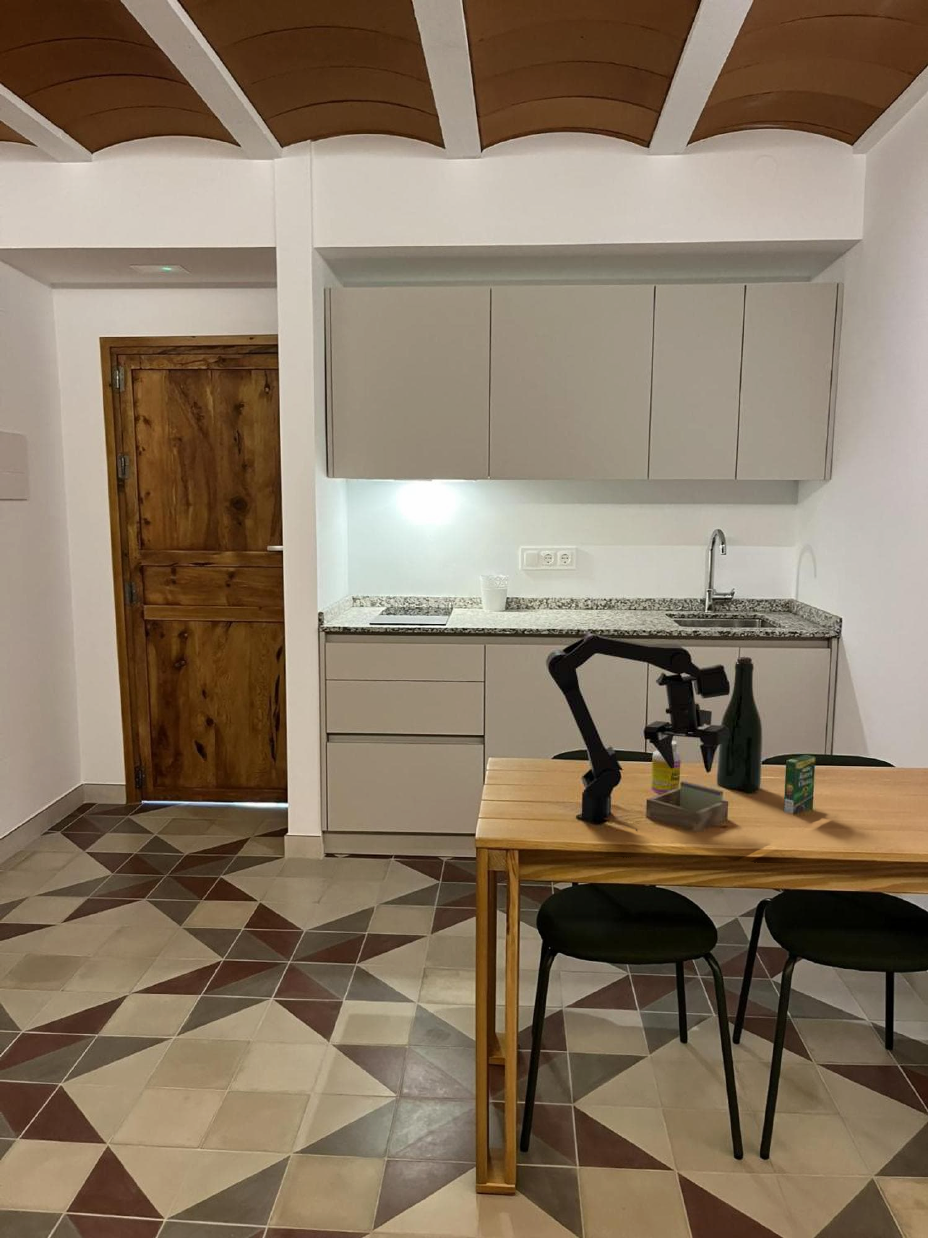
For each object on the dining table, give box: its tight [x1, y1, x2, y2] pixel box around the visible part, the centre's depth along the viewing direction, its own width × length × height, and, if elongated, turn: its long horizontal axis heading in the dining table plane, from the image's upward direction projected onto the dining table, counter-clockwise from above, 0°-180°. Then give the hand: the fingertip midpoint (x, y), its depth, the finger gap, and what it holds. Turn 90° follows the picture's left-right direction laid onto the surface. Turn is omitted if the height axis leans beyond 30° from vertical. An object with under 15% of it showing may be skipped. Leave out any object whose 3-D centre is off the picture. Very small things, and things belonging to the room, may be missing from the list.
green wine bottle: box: [716, 656, 763, 795], centre depth 224 cm, size 10×10×33 cm
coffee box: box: [783, 754, 816, 815], centre depth 206 cm, size 8×3×13 cm, turn 127°
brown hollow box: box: [645, 787, 729, 833], centre depth 201 cm, size 12×13×5 cm
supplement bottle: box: [650, 740, 681, 794], centre depth 220 cm, size 7×7×13 cm
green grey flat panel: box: [679, 780, 724, 812], centre depth 204 cm, size 1×10×6 cm, turn 43°
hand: (690, 770), depth 201 cm, fingers open, 9 cm apart
